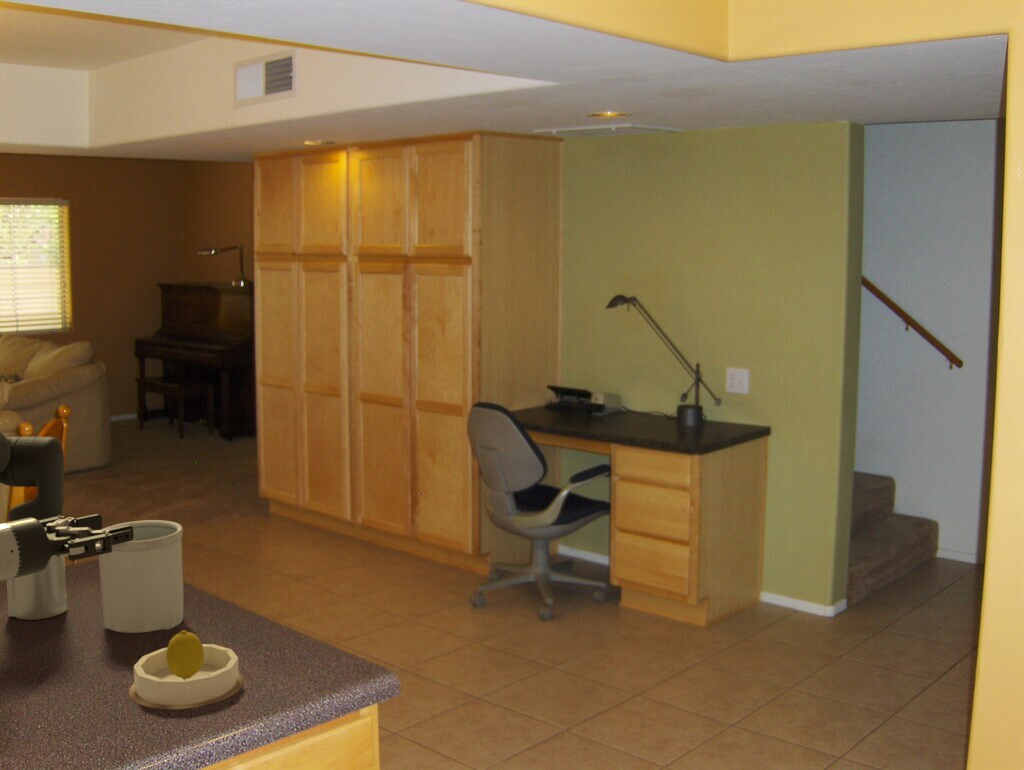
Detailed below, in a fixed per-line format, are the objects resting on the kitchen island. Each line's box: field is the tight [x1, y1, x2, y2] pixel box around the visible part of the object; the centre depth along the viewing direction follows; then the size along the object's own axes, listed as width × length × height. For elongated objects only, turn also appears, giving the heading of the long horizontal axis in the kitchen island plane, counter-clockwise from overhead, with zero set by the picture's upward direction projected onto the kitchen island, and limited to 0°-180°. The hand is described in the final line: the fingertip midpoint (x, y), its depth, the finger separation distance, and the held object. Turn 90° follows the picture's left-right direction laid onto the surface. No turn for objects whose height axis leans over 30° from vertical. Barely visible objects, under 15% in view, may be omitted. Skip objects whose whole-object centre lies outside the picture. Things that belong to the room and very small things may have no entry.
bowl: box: [133, 643, 240, 706], centre depth 166 cm, size 15×15×4 cm
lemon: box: [166, 629, 204, 679], centre depth 166 cm, size 6×6×8 cm
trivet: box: [128, 671, 244, 710], centre depth 167 cm, size 17×17×1 cm
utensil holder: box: [96, 519, 184, 634], centre depth 194 cm, size 15×15×18 cm
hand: (116, 526), depth 155 cm, fingers open, 8 cm apart
